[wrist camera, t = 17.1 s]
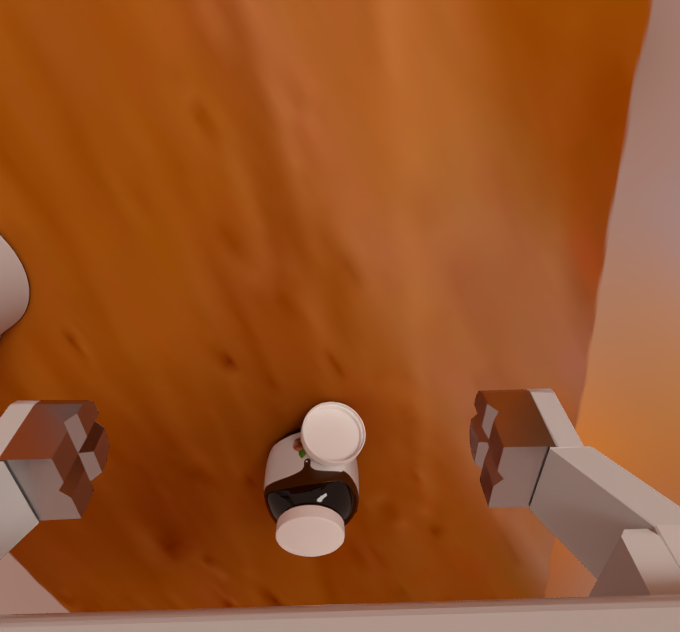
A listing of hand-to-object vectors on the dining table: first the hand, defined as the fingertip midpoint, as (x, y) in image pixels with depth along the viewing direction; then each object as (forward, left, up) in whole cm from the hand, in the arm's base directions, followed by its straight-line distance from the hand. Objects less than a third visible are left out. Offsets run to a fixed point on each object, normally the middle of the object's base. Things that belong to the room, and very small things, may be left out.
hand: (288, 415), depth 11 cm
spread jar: (-1, -36, -33) cm, 49 cm away
